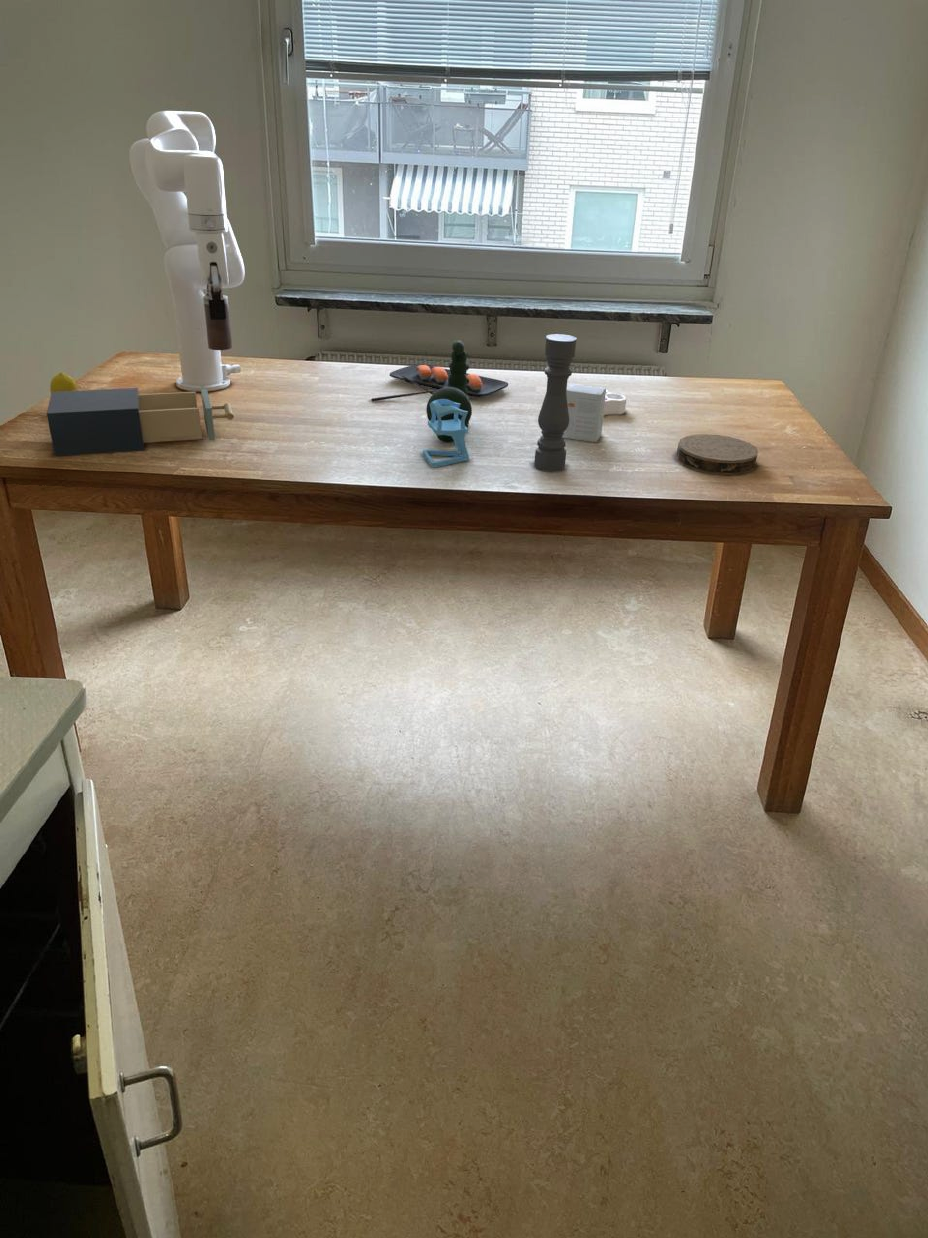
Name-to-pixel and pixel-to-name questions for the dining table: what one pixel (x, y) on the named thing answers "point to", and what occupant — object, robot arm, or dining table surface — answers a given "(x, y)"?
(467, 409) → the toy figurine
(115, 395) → the cabinet
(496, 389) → the sushi plate
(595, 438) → the small box
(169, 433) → the drawer
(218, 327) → the brown lidded jar
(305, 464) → the dining table surface
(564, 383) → the candle holder
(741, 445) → the tambourine
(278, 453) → the dining table surface
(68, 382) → the lemon
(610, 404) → the white brass knuckles
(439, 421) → the chair
